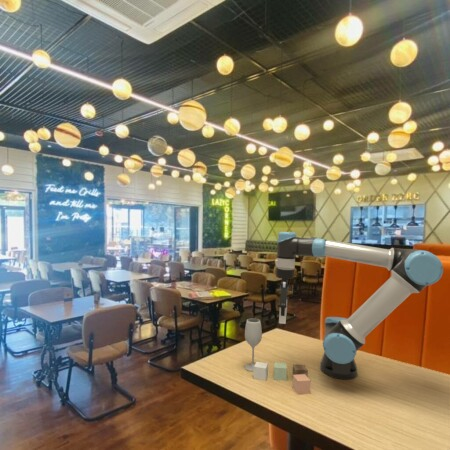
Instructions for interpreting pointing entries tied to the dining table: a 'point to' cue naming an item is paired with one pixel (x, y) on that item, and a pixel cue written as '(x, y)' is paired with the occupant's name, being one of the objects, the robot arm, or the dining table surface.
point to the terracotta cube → (301, 384)
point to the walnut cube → (299, 369)
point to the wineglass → (252, 337)
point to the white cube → (260, 371)
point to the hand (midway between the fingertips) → (282, 318)
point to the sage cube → (280, 371)
